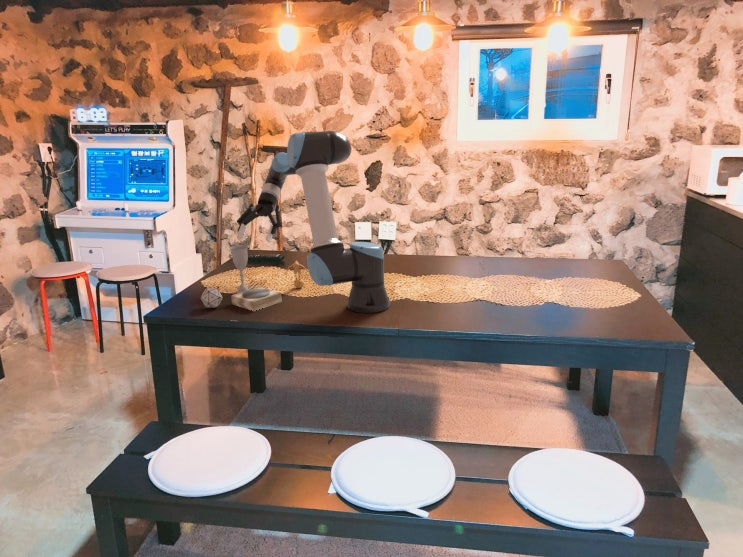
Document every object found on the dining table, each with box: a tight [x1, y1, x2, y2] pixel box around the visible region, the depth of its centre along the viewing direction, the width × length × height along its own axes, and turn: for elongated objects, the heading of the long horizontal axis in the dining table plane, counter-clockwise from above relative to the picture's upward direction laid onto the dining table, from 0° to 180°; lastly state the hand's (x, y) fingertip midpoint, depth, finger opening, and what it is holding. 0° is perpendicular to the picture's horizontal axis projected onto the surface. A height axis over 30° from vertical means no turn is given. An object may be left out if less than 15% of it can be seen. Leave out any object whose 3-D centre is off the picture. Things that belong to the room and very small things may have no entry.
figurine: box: [286, 260, 309, 289], centre depth 235 cm, size 8×6×12 cm
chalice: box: [229, 244, 250, 294], centre depth 233 cm, size 7×7×18 cm
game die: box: [197, 286, 226, 310], centre depth 216 cm, size 9×8×10 cm
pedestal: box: [231, 286, 283, 312], centre depth 221 cm, size 13×13×4 cm
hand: (253, 239), depth 240 cm, fingers open, 13 cm apart
